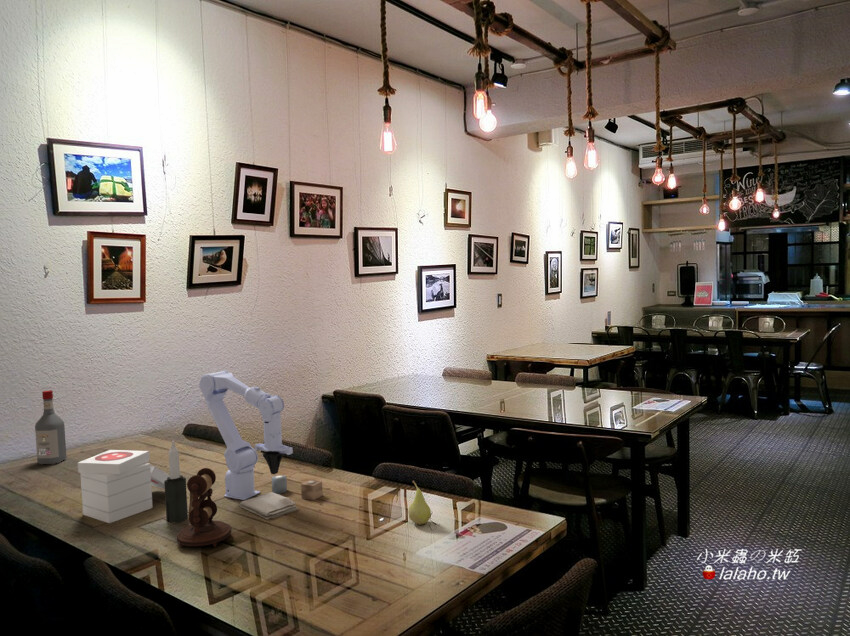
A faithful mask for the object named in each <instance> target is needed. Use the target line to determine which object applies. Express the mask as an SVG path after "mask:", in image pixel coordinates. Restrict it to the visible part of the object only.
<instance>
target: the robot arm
mask: <svg viewBox="0 0 850 636" xmlns="http://www.w3.org/2000/svg"><path fill="white" fill-rule="evenodd" d="M198 387H199V389H200V391H201V393H202V395H203V398H204V401H205V404H206V407H207V409H208V411H209V413H210V415H211V416H212V418H213V421H214V423H215V424H216V427H217V429H218V432H219V433H220V435H221V437H222V439H223V441H224V443H225V446H226V449H225V452H224V453H223V456H224V458H225V459H224V460H225V463H226V467H227V471H226V473H225V475H224V484H225V485H224V486H225V488H224V489H225V494H223V497H225V498H230V499H231V498H232V499H234V500H235V499H236V500H242V501H245V500H248V499H251V498H253V497H254V496H256V495H259V494H260V493H261V491H260V490H255V476H254V475H255V472H254V470H255V469H254V468H255V467H256V464H257V463H258V461H259V455H258V452H257V451H263V452H265V453H263V454H262V457H263V458H264V460H265V461H266V463H267V466H268V468H269V472H270V474H271V475H276V474H278V473H279V469H280V464H281V462H282V459H283V457H284V455H285V454H286V455H288V456H289V455H292V454H294V452H293V451H294V450H293V447H290V446H287V445H284V444H283V439H282V438H283V435H282V434H283V433H282V413H281V412H283V411H284V409H285V403H284V400H283V398H282V397H280V396H279V395H277V394H276V395H275V394H274V395H271V394H270V393H269V392H265V391H264V390H261V388H260V387H259V386H251V387H250V386H248V385H247V384H245V383H244V382H242V381H240V380H239V379H238V378H236V377H235V376H234V374H233V373H231V372H229V371H228V370H224V369H223V370H221V371H217V372H212V373H211V372H210V373H205V374H203V375H202V376H201V377H200V379H199V385H198ZM229 390H230V391H232V392H234V393H235V394H238V395H241V397H244V401H245V402H246V403H248V404H250V405H251V406H253V407H255V408H256V409H258V411H259V413H260V415H261V420H262V421H263V422H262V423H263V424H262V425H263V442H264V443H256V444H254V447H252V445H251V443H250V442H249V441H246V440H244V439H243V438H242V436H241V434H240V432H239V430H238V428H237V426H236V424H235V423H234V420H233V418H232V415H231V414H230V412H229V410H228V408H227V406H226V404H225V402H224V398H225V396H226V395H227V393H228V391H229Z"/></svg>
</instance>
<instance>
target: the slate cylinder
mask: <svg viewBox="0 0 850 636" xmlns="http://www.w3.org/2000/svg"><path fill="white" fill-rule="evenodd" d="M287 483H288V478H287V475H284V474H281V475H279V474H278V475H274V476H272V477H271V489H272V491H271V492H273V493H276V494H279V495H281V494H285V493H287V492H288V484H287Z"/></svg>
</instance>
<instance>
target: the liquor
mask: <svg viewBox="0 0 850 636" xmlns="http://www.w3.org/2000/svg"><path fill="white" fill-rule="evenodd" d="M41 393H42V401H43V403H42V404H43V412H42V414H43V415H41V417H40V418H39V419H38V420H37V421H36V423H35V425H34V431H35V432H34V433H35V445H36V448H35V449H36V458H37V464H39V465H40V464H53V465H56V464H55V463H57V464H60V463H62V462H64V461H66V460H67V457H68V456H67V445H66V429H65V421H64V420H63V418H61V417H60V416H58V415H57V414H56V413H55V410H54V393H53V390H49V389H48V390H44V391H42V392H41ZM65 459H66V460H65ZM63 460H64V461H63ZM61 461H62V462H61ZM59 462H60V463H59Z"/></svg>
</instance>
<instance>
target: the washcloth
mask: <svg viewBox="0 0 850 636" xmlns="http://www.w3.org/2000/svg"><path fill="white" fill-rule="evenodd" d="M239 507H240V508H241V509H244V510H245V511H248V512H250V513H252V514H254V515H257V516H259V517H261V518H263V519H265V520H269V519H275V518H278V517H282V516H283V515H286V514H290V513H293V512H295V511H297V510H298V507H297V505H296V502H295V501H293V500H292V499H290V498H289V497H285V496H284V495H281V494H276V493H273V492H272V491H270V492H266V493H263V494H261V495H258V496H255V497H250V498H248V499H246V500H242V501H240V503H239Z"/></svg>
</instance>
